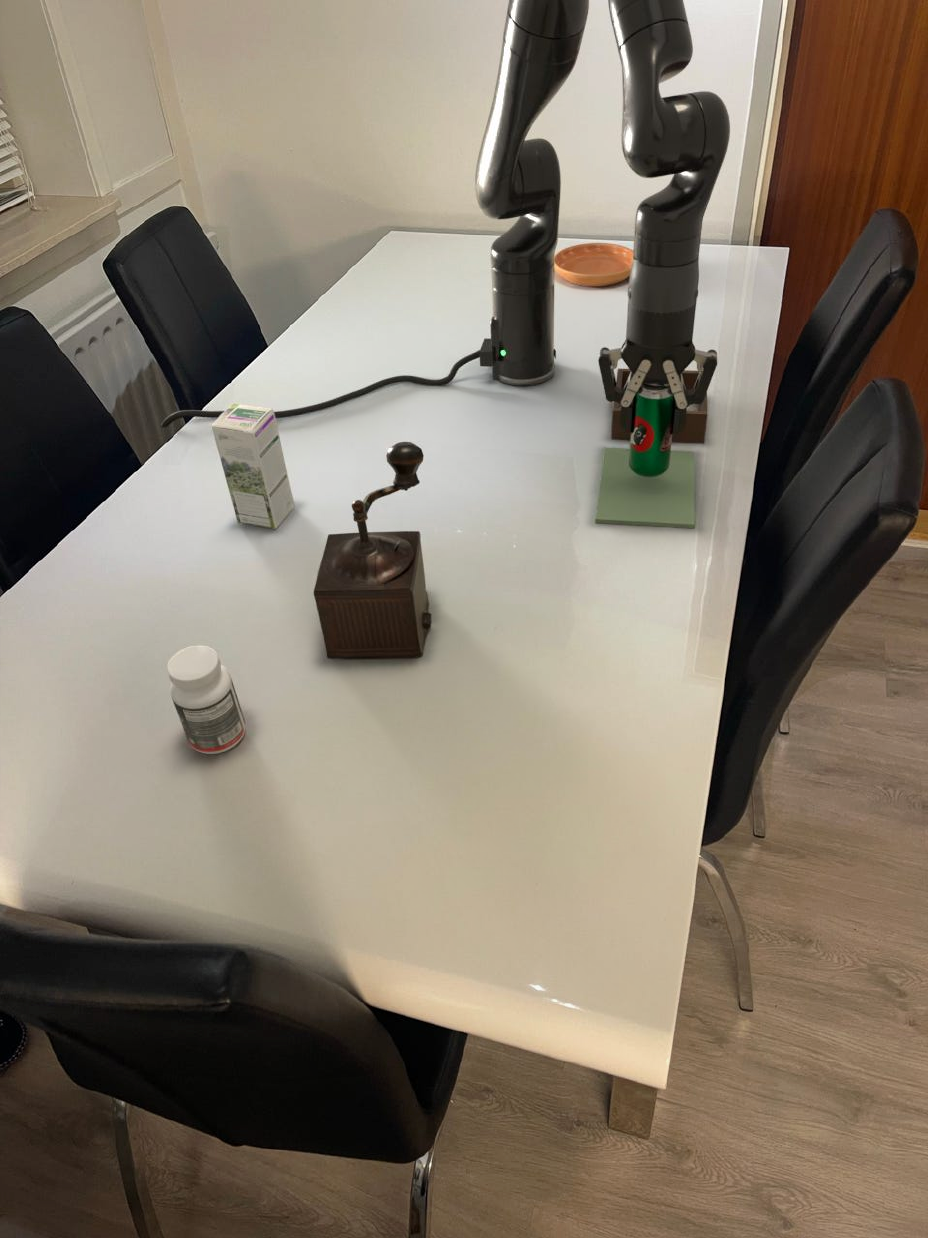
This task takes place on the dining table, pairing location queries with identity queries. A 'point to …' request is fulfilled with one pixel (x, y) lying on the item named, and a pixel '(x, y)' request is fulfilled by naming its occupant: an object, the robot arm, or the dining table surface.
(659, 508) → the mat
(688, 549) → the dining table surface
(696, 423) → the crate
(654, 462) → the soda can
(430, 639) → the dining table surface
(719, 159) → the robot arm
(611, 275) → the saucer
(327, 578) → the manual coffee grinder
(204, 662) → the pill bottle
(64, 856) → the dining table surface
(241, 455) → the syrup box
